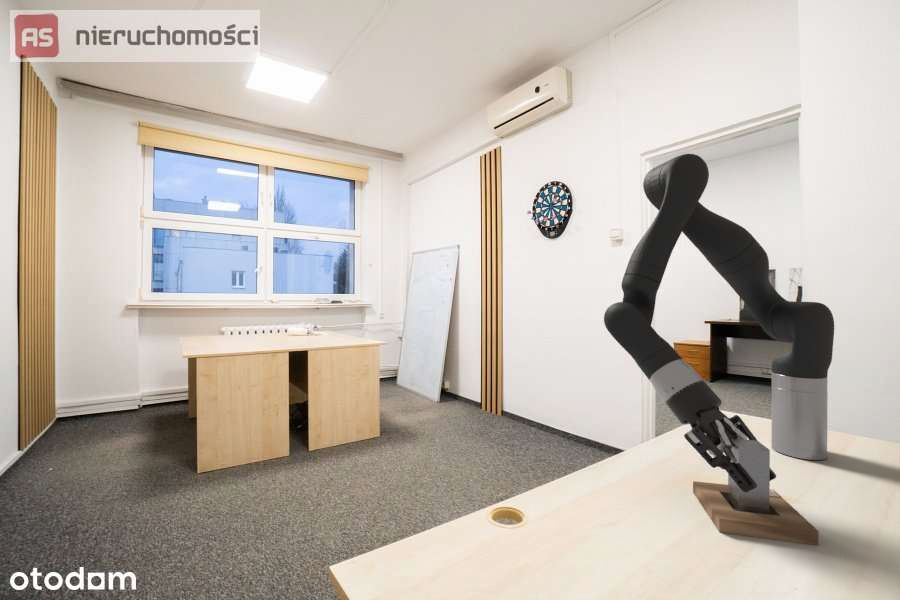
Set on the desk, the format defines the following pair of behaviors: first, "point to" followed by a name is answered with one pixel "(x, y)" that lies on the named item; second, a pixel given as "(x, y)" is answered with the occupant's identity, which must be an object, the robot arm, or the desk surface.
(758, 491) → the peg
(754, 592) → the desk surface
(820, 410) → the robot arm
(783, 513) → the socket board
